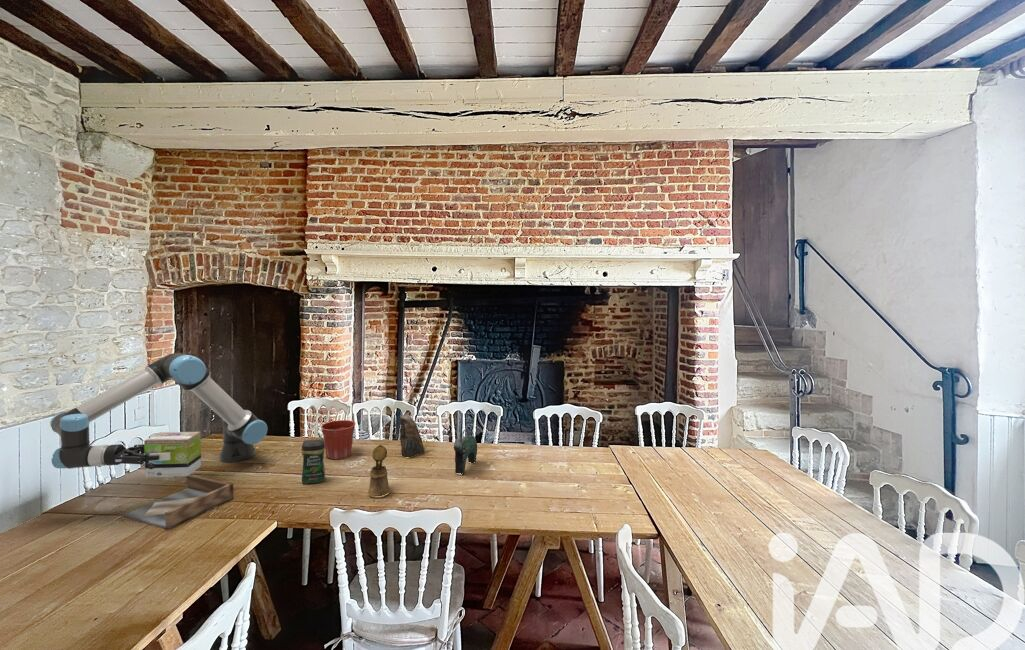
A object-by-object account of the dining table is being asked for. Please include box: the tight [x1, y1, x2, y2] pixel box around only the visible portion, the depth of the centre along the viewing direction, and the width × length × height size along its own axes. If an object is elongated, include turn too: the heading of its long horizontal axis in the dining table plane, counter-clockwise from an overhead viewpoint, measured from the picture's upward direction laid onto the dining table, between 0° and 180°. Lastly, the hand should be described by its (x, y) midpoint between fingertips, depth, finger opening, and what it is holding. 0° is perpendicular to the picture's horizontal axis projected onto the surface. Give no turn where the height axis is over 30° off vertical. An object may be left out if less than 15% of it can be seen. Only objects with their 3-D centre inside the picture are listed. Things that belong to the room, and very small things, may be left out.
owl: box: [398, 412, 425, 458], centre depth 231 cm, size 13×13×20 cm
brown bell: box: [367, 444, 391, 497], centre depth 188 cm, size 9×14×18 cm, turn 13°
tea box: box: [143, 431, 202, 478], centre depth 172 cm, size 15×10×15 cm
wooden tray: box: [123, 474, 234, 530], centre depth 172 cm, size 25×24×6 cm
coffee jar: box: [301, 438, 326, 485], centre depth 196 cm, size 10×8×19 cm
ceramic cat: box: [453, 428, 478, 474], centre depth 213 cm, size 20×6×20 cm, turn 161°
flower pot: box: [320, 419, 356, 460], centre depth 226 cm, size 16×16×16 cm
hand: (177, 450), depth 172 cm, fingers closed on tea box, 10 cm apart
